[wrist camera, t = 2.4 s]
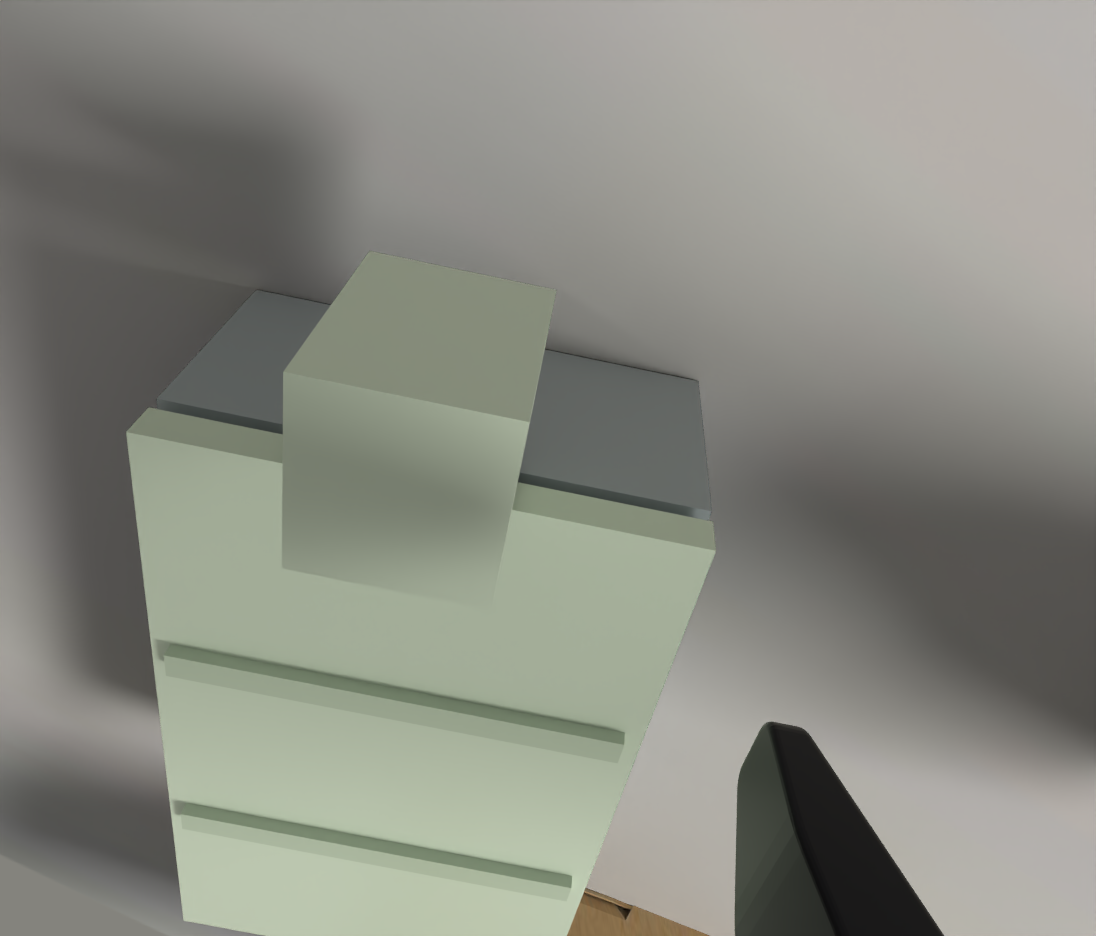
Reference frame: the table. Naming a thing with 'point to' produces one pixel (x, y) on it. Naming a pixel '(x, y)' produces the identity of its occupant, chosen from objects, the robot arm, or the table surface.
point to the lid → (399, 629)
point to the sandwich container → (621, 919)
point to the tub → (555, 427)
